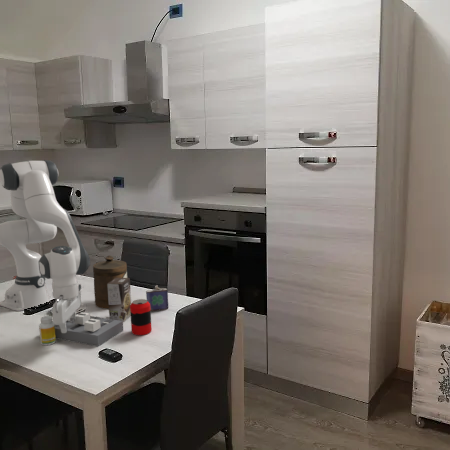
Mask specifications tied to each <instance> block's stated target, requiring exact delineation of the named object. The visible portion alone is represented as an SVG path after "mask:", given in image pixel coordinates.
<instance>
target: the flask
mask: <svg viewBox="0 0 450 450" xmlns="http://www.w3.org/2000/svg"><path fill="white" fill-rule="evenodd" d="M158 286H159V285H157V284H156V285H155V286H154V288H153V289H148V290H146V291H145V293H146V294H145V296H146V300H147V301H148V302H149V303H150V309H151V312H158V311H166V310H169V290H168V289H167V288H164V287H158Z"/></svg>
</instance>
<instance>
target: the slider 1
mask: <svg viewBox="0 0 450 450" xmlns="http://www.w3.org/2000/svg"><path fill="white" fill-rule="evenodd" d="M76 314H77V315H76V317H75V318H76V322H75V323H76V324H82V325H84V322H86V321H88V320H90V316H91V313H87V312H79V313H76Z"/></svg>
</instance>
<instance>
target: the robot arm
mask: <svg viewBox="0 0 450 450" xmlns="http://www.w3.org/2000/svg"><path fill="white" fill-rule="evenodd" d="M57 167H58V166H57V164H56V163H55V162H53V161H52V160H45V159H44V160H27V161H20V162H14V163H10V162H8V163H6V164H5V163H4V164H3V165H1V167H0V184H1V186H2V188H4V189H5V190H7V191H10V204H11V205H10V206H11V210H12V212H13V213H14V214H16V215H17V216H19V217H21V218H22V217H23V218H24V219H14V220H7V221H3V222H1V223H0V246H1V247H3V248H5V249H7V250H8V252H10V254H11V255H12V257H13V260H14V263H15V268H16V275H15V276H13V277H12V279H13V280H14V283H13V284H12V285H11V286H10V287H9V288H8V289H6V291H5V293H4V299H3V300H2V301H1V302H0V306H1V307H4V308H7V309H9V310H12V311H16V312H19V311H20V312H21V311H25V310H24V309H27V308H31V307H34V306H38V305H40V304H44V303H46V302H49V301H50V302H51V300H50V299H51V297H50V296H49V293H48V288H47V284H46V282H45V281H46V279H48V280H52V283H51V287H52V289H51V290H52V298H53V299H54V300H55V302H54V303H53V305H52V316H51V317H52V321H53V324H54V325H59V326H60V328H61V333H66V332H67V327H66V321H67V320H68V319H69V318H70V323H75V322H76V318H75V317H76V314H77V310H78V309H79V308H81V304H82V302H81V301H82V291H81V290H82V283H79V281H78V278H77V276H78V275H84V274H86V272H87V271H88V270H89V268H90V266H91V259H90V255H89V253H88V251H87V250H86V248H85V246H84V244H83V242H82V240H81V237H80V234H79V232H78V230H77V227H76V225H75V223H74V220H73V219H72V216H71V215H70V213H69V211H68V210H67V209H65V208H63V206H61V205H60V203H59V202H58V201H57V198H56V194H55V190H54V187H53V185H54V186H55V184H56V183H58V180H59V170H58V168H57ZM58 228H59V229H60V230H61V231H62V232H63V235H64V236H65V239H66V242H67V244H68V246H67V245H58V246H54V247H52V248H51V249H50V252H47V253H43V254H42V255H41V254H40V253H39V252H37V251H34V250H31V249H29V248H27V245H32V244H38V243H40V244H41V243H45V242H48V241H51V240H54V238H55V237H56V235H57V233H58ZM27 310H28V309H27Z"/></svg>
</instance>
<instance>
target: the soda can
mask: <svg viewBox="0 0 450 450" xmlns="http://www.w3.org/2000/svg"><path fill="white" fill-rule="evenodd" d="M151 313H152V311H151V309H150V303H149V302H148V301H147V299H142V298H141V299H135V300H133V301H131V305H130V314H131V316H130V326H131V327H130V328H131V333H132V334H133V335H134V336H144V335H148V334H150V333H151V332H152V315H151Z"/></svg>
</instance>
